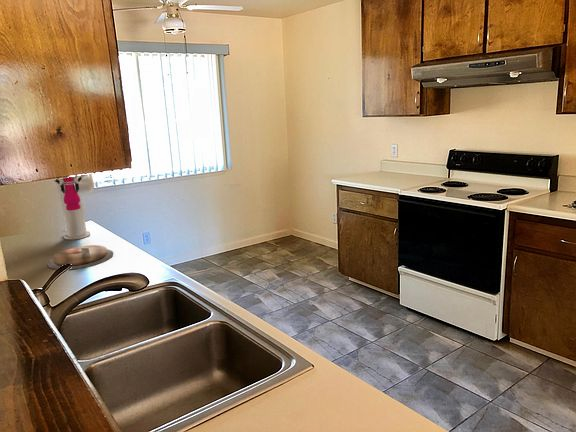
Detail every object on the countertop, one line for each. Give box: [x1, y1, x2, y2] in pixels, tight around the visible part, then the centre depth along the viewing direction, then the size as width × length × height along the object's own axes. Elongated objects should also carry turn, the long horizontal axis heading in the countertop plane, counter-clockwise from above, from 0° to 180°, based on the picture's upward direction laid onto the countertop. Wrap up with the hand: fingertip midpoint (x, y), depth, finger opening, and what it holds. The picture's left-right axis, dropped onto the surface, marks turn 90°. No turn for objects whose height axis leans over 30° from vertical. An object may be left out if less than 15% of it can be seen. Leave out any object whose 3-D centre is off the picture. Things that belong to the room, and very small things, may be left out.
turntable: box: [52, 244, 108, 266], centre depth 205 cm, size 22×22×6 cm
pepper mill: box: [63, 177, 81, 211], centre depth 218 cm, size 7×7×20 cm
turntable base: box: [47, 248, 114, 270], centre depth 206 cm, size 27×27×1 cm
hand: (70, 191), depth 219 cm, fingers closed on pepper mill, 5 cm apart
